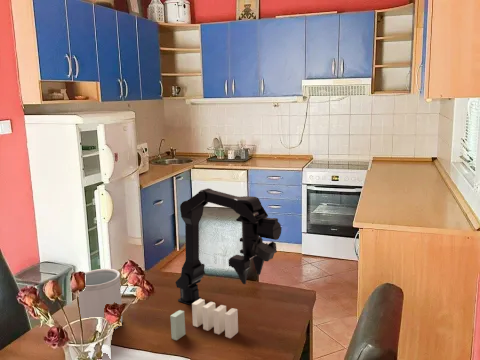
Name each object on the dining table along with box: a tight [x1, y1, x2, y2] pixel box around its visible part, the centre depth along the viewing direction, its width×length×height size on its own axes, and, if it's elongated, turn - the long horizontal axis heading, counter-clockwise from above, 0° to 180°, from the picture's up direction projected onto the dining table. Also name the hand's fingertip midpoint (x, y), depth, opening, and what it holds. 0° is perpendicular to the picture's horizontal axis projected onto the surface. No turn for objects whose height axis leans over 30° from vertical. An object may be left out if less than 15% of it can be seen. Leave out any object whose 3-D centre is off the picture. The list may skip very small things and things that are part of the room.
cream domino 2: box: [202, 301, 217, 332], centre depth 145 cm, size 2×4×8 cm, turn 146°
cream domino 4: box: [224, 307, 239, 339], centre depth 141 cm, size 2×4×8 cm, turn 146°
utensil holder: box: [77, 268, 123, 330], centre depth 148 cm, size 15×15×18 cm
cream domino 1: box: [191, 298, 206, 328], centre depth 148 cm, size 2×4×8 cm, turn 146°
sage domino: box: [169, 309, 186, 341], centre depth 140 cm, size 2×4×8 cm, turn 146°
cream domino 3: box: [213, 304, 227, 335], centre depth 143 cm, size 2×4×8 cm, turn 146°
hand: (251, 279), depth 148 cm, fingers open, 9 cm apart
